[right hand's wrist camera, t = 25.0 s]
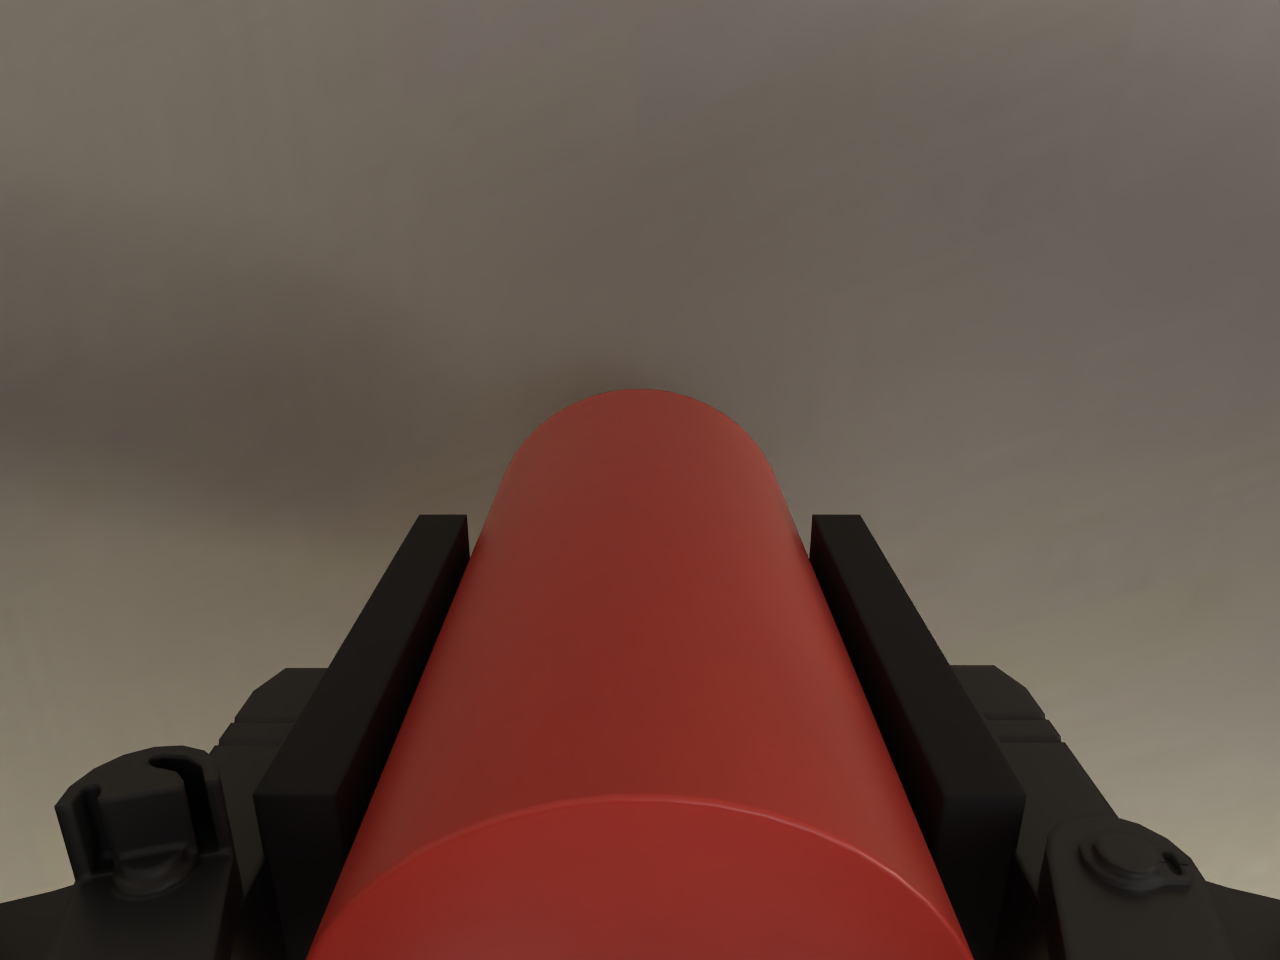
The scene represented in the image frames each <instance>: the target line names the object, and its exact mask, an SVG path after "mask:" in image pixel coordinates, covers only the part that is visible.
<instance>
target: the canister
mask: <svg viewBox="0 0 1280 960" xmlns="http://www.w3.org/2000/svg"><path fill="white" fill-rule="evenodd" d="M305 960H974V958H973V956H972V953H971V951H970V949H969V946H968V944H967V941H966V939H965V936H964V934H963V932H962V929H961V927H960V924H959V922H958V919H957V917H956V915H955V912H954V910H953V907H952V905H951V902H950V900H949V898H948V895H947V893H946V890H945V888H944V885H943V883H942V881H941V878H940V876H939V873H938V871H937V868H936V866H935V864H934V861H933V859H932V856H931V854H930V851H929V849H928V847H927V844H926V842H925V839H924V837H923V834H922V832H921V830H920V827H919V825H918V822H917V820H916V817H915V815H914V813H913V810H912V808H911V805H910V803H909V800H908V798H907V796H906V793H905V791H904V788H903V786H902V783H901V781H900V779H899V776H898V774H897V771H896V769H895V766H894V764H893V762H892V759H891V757H890V754H889V752H888V749H887V747H886V745H885V742H884V740H883V737H882V735H881V732H880V730H879V728H878V725H877V723H876V720H875V718H874V715H873V713H872V711H871V708H870V706H869V703H868V701H867V698H866V696H865V694H864V691H863V689H862V686H861V684H860V681H859V679H858V677H857V674H856V672H855V669H854V667H853V664H852V662H851V660H850V657H849V655H848V652H847V650H846V647H845V645H844V643H843V640H842V638H841V635H840V633H839V630H838V628H837V626H836V623H835V621H834V618H833V616H832V613H831V611H830V609H829V606H828V604H827V601H826V599H825V596H824V594H823V592H822V589H821V587H820V584H819V582H818V579H817V577H816V575H815V572H814V570H813V567H812V565H811V562H810V560H809V558H808V555H807V553H806V550H805V548H804V545H803V543H802V541H801V538H800V536H799V533H798V531H797V528H796V526H795V524H794V521H793V519H792V516H791V514H790V511H789V509H788V507H787V504H786V502H785V499H784V497H783V494H782V492H781V490H780V487H779V485H778V482H777V480H776V477H775V475H774V473H773V470H772V468H771V466H770V464H769V463H768V461H767V459H766V457H765V456H764V454H763V452H762V451H761V450H760V448H759V447H758V446H757V444H756V443H755V442H754V440H753V439H752V438H751V437H750V436H749V435H748V434H747V433H746V432H745V431H744V430H743V429H742V428H741V427H740V426H739V425H738V424H737V423H735V422H734V421H733V420H731V419H730V418H729V417H727V416H726V415H725V414H723V413H722V412H720V411H718V410H716V409H714V408H713V407H711V406H709V405H707V404H705V403H703V402H700V401H698V400H695V399H693V398H690V397H688V396H684V395H680V394H676V393H672V392H668V391H660V390H652V389H626V390H619V391H611V392H606V393H603V394H599V395H595V396H591V397H588V398H586V399H583V400H581V401H579V402H576V403H574V404H571V405H570V406H568V407H566V408H564V409H563V410H561V411H559V412H557V413H556V414H554V415H553V416H552V417H550V418H549V419H548V420H546V421H545V422H544V423H542V424H541V425H540V426H539V427H538V428H537V429H536V430H535V431H534V432H533V433H532V434H531V435H530V436H529V437H528V438H527V439H526V440H525V441H524V443H523V444H522V445H521V447H520V448H519V449H518V451H517V452H516V453H515V455H514V457H513V459H512V461H511V462H510V464H509V466H508V468H507V470H506V472H505V474H504V477H503V479H502V482H501V484H500V487H499V489H498V491H497V494H496V496H495V499H494V501H493V504H492V506H491V509H490V511H489V513H488V516H487V518H486V521H485V523H484V526H483V528H482V530H481V533H480V535H479V538H478V540H477V543H476V545H475V548H474V550H473V552H472V555H471V557H470V560H469V562H468V565H467V567H466V569H465V572H464V574H463V577H462V579H461V582H460V584H459V587H458V589H457V591H456V594H455V596H454V599H453V601H452V604H451V606H450V608H449V611H448V613H447V616H446V618H445V621H444V623H443V626H442V628H441V630H440V633H439V635H438V638H437V640H436V643H435V645H434V647H433V650H432V652H431V655H430V657H429V660H428V662H427V665H426V667H425V669H424V672H423V674H422V677H421V679H420V682H419V684H418V686H417V689H416V691H415V694H414V696H413V699H412V701H411V704H410V706H409V708H408V711H407V713H406V716H405V718H404V721H403V723H402V725H401V728H400V730H399V733H398V735H397V738H396V740H395V743H394V745H393V747H392V750H391V752H390V755H389V757H388V760H387V762H386V764H385V767H384V769H383V772H382V774H381V777H380V779H379V782H378V784H377V786H376V789H375V791H374V794H373V796H372V799H371V801H370V803H369V806H368V808H367V811H366V813H365V816H364V818H363V821H362V823H361V825H360V828H359V830H358V833H357V835H356V838H355V840H354V842H353V845H352V847H351V850H350V852H349V855H348V857H347V860H346V862H345V864H344V867H343V869H342V872H341V874H340V877H339V879H338V881H337V884H336V886H335V889H334V891H333V894H332V896H331V899H330V901H329V903H328V906H327V908H326V911H325V913H324V916H323V918H322V920H321V923H320V925H319V928H318V930H317V933H316V935H315V938H314V940H313V942H312V945H311V947H310V950H309V952H308V955H307V957H306V959H305Z"/></svg>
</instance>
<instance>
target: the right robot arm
mask: <svg viewBox="0 0 1280 960" xmlns="http://www.w3.org/2000/svg"><path fill="white" fill-rule="evenodd" d="M469 560H470V552H469V539H468V525H467V515H419V516H418V518H417V519H416V521H415V523H414V525H413V526H412V528H411V530H410V531H409V533H408V535H407V536H406V538H405V540H404V541H403V543H402V545H401V546H400V548H399V550H398V551H397V553H396V555H395V556H394V558H393V560H392V561H391V563H390V565H389V566H388V568H387V570H386V572H385V573H384V575H383V577H382V578H381V580H380V582H379V583H378V585H377V587H376V588H375V590H374V592H373V593H372V595H371V597H370V598H369V600H368V602H367V603H366V605H365V607H364V608H363V610H362V612H361V613H360V615H359V617H358V618H357V620H356V622H355V624H354V625H353V627H352V629H351V630H350V632H349V634H348V635H347V637H346V639H345V640H344V642H343V644H342V645H341V647H340V649H339V650H338V652H337V654H336V655H335V657H334V659H333V660H332V662H331V664H330V665H329V667H328V668H285V669H284V670H282V671H281V672H280V673H278V674H277V675H275V676H274V677H273V678H271V679H270V680H268V681H267V682H266V683H264V684H263V685H261V686H260V687H259V688H257V689H256V690H254V691H253V693H252V694H251V695H250V697H249V698H248V700H247V701H246V702H245V704H244V705H243V707H242V708H241V710H240V711H239V712H238V714H237V715H236V717H235V722H234V723H231V724H230V725H229V727H228V728H227V729H226V731H225V732H224V734H223V735H222V736H221V738H220V739H219V745H218V746H214V748H213V749H212V751H211V752H210V753H209V754H208V753H206V752H205V751H204V750H199V749H195V748H191V747H187V746H163V747H152V748H149V749H145V750H141V751H137V752H133V753H129V754H125V755H122V756H120V757H118V758H116V759H114V760H112V761H109V762H107V763H105V764H103V765H101V766H99V767H97V768H94V769H93V770H92V771H90V772H89V773H87V774H86V775H85V776H83V777H82V778H81V779H79V780H78V781H77V782H75V783H74V784H72V785H71V786H70V787H69V788H68V789H67V791H66V792H65V793H64V795H63V796H62V797H61V798H60V800H59V801H58V802H57V804H56V805H55V806H54V807H55V811H56V814H57V818H58V821H59V825H60V828H61V832H62V835H63V839H64V842H65V846H66V849H67V853H68V856H69V860H70V863H71V866H72V870H73V873H74V877H75V880H76V881H75V883H74V885H71V886H68V887H65V888H62V889H58V890H55V891H52V892H47V893H43V894H39V895H35V896H30V897H26V898H22V899H17V900H13V901H9V902H5V903H0V960H305V959H306V957H307V955H308V952H309V950H310V947H311V945H312V942H313V940H314V938H315V935H316V933H317V930H318V928H319V925H320V923H321V920H322V918H323V916H324V913H325V911H326V908H327V906H328V903H329V901H330V899H331V896H332V894H333V891H334V889H335V886H336V884H337V881H338V879H339V877H340V874H341V872H342V869H343V867H344V864H345V862H346V860H347V857H348V855H349V852H350V850H351V847H352V845H353V842H354V840H355V838H356V835H357V833H358V830H359V828H360V825H361V823H362V821H363V818H364V816H365V813H366V811H367V808H368V806H369V803H370V801H371V799H372V796H373V794H374V791H375V789H376V786H377V784H378V782H379V779H380V777H381V774H382V772H383V769H384V767H385V764H386V762H387V760H388V757H389V755H390V752H391V750H392V747H393V745H394V743H395V740H396V738H397V735H398V733H399V730H400V728H401V725H402V723H403V721H404V718H405V716H406V713H407V711H408V708H409V706H410V704H411V701H412V699H413V696H414V694H415V691H416V689H417V686H418V684H419V682H420V679H421V677H422V674H423V672H424V669H425V667H426V665H427V662H428V660H429V657H430V655H431V652H432V650H433V647H434V645H435V643H436V640H437V638H438V635H439V633H440V630H441V628H442V626H443V623H444V621H445V618H446V616H447V613H448V611H449V608H450V606H451V604H452V601H453V599H454V596H455V594H456V591H457V589H458V587H459V584H460V582H461V579H462V577H463V574H464V572H465V569H466V567H467V565H468V562H469ZM809 560H810V562H811V565H812V567H813V570H814V572H815V575H816V577H817V579H818V582H819V584H820V587H821V589H822V592H823V594H824V596H825V599H826V601H827V604H828V606H829V609H830V611H831V613H832V616H833V618H834V621H835V623H836V626H837V628H838V630H839V633H840V635H841V638H842V640H843V643H844V645H845V647H846V650H847V652H848V655H849V657H850V660H851V662H852V664H853V667H854V669H855V672H856V674H857V677H858V679H859V681H860V684H861V686H862V689H863V691H864V694H865V696H866V698H867V701H868V703H869V706H870V708H871V711H872V713H873V715H874V718H875V720H876V723H877V725H878V728H879V730H880V732H881V735H882V737H883V740H884V742H885V745H886V747H887V749H888V752H889V754H890V757H891V759H892V762H893V764H894V766H895V769H896V771H897V774H898V776H899V779H900V781H901V783H902V786H903V788H904V791H905V793H906V796H907V798H908V800H909V803H910V805H911V808H912V810H913V813H914V815H915V817H916V820H917V822H918V825H919V827H920V830H921V832H922V834H923V837H924V839H925V842H926V844H927V847H928V849H929V851H930V854H931V856H932V859H933V861H934V864H935V866H936V868H937V871H938V873H939V876H940V878H941V881H942V883H943V885H944V888H945V890H946V893H947V895H948V898H949V900H950V902H951V905H952V907H953V910H954V912H955V915H956V917H957V919H958V922H959V924H960V927H961V929H962V932H963V934H964V936H965V939H966V941H967V944H968V946H969V949H970V951H971V953H972V956H973V958H974V960H1280V900H1279V899H1274V898H1270V897H1266V896H1261V895H1257V894H1253V893H1248V892H1244V891H1240V890H1236V889H1231V888H1227V887H1224V886H1221V885H1217V884H1214V883H1211V882H1207V881H1205V879H1204V878H1203V876H1202V875H1201V873H1200V872H1199V870H1198V869H1197V867H1196V866H1195V864H1194V863H1193V861H1192V860H1191V858H1190V857H1189V856H1187V855H1186V854H1185V853H1184V852H1183V851H1181V850H1180V849H1179V848H1178V847H1177V846H1175V845H1174V844H1173V843H1172V842H1171V841H1169V840H1168V839H1167V838H1165V837H1163V836H1161V835H1159V834H1157V833H1155V832H1153V831H1151V830H1149V829H1148V828H1146V827H1144V826H1142V825H1140V824H1137V823H1134V822H1130V821H1127V820H1123V819H1120V818H1118V816H1117V815H1116V814H1115V812H1114V811H1113V809H1112V808H1111V807H1110V805H1109V804H1108V802H1107V801H1106V800H1105V798H1104V797H1103V795H1102V794H1101V793H1100V791H1099V790H1098V788H1097V787H1096V786H1095V784H1094V783H1093V781H1092V780H1091V778H1090V777H1089V776H1088V774H1087V773H1086V771H1085V770H1084V769H1083V767H1082V766H1081V764H1080V763H1079V762H1078V760H1077V759H1076V757H1075V756H1074V755H1073V753H1072V752H1071V750H1070V749H1069V748H1068V746H1067V745H1066V743H1065V742H1061V736H1060V735H1059V734H1058V732H1057V731H1056V729H1055V728H1054V727H1053V725H1052V724H1051V722H1050V721H1049V720H1046V719H1045V714H1044V712H1043V711H1042V710H1041V708H1040V707H1039V705H1038V704H1037V703H1036V701H1035V700H1034V698H1033V697H1032V696H1031V694H1030V693H1029V691H1028V690H1027V689H1026V688H1025V687H1024V686H1022V685H1021V684H1020V683H1018V682H1017V681H1015V680H1014V679H1013V678H1011V677H1010V676H1008V675H1007V674H1005V673H1004V672H1003V671H1001V670H1000V669H998V668H997V667H996V666H994V665H949V663H948V662H947V660H946V658H945V657H944V655H943V653H942V652H941V650H940V648H939V647H938V645H937V643H936V642H935V640H934V638H933V636H932V635H931V633H930V631H929V630H928V628H927V626H926V625H925V623H924V621H923V620H922V618H921V616H920V615H919V613H918V611H917V610H916V608H915V606H914V605H913V603H912V601H911V600H910V598H909V596H908V595H907V593H906V591H905V590H904V588H903V586H902V584H901V583H900V581H899V579H898V578H897V576H896V574H895V573H894V571H893V569H892V568H891V566H890V564H889V563H888V561H887V559H886V558H885V556H884V554H883V553H882V551H881V549H880V548H879V546H878V544H877V543H876V541H875V539H874V538H873V536H872V534H871V532H870V531H869V529H868V527H867V526H866V524H865V522H864V521H863V519H862V517H861V516H860V515H813V516H812V529H811V543H810V556H809Z"/></svg>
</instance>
